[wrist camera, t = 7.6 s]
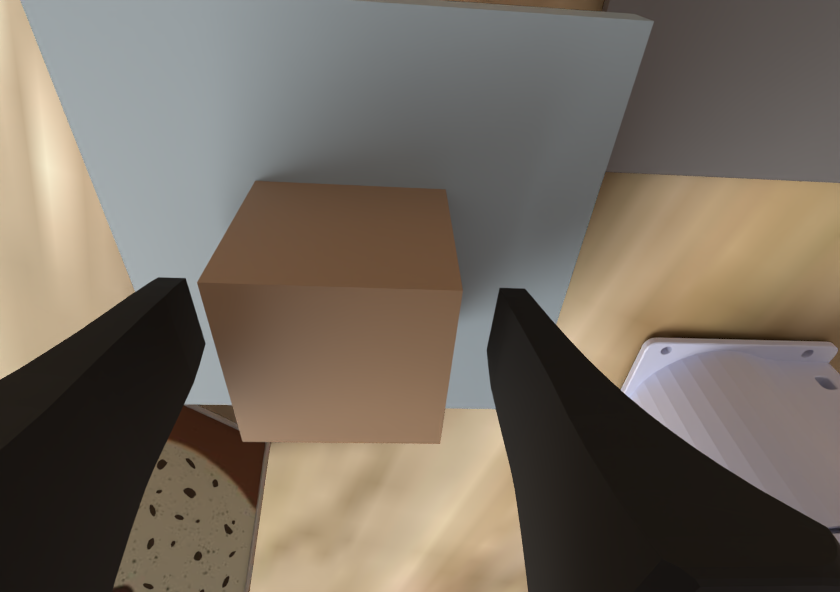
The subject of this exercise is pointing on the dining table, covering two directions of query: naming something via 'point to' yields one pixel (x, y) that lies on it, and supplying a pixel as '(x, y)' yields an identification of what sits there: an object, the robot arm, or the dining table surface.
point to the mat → (734, 90)
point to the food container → (198, 511)
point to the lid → (344, 185)
